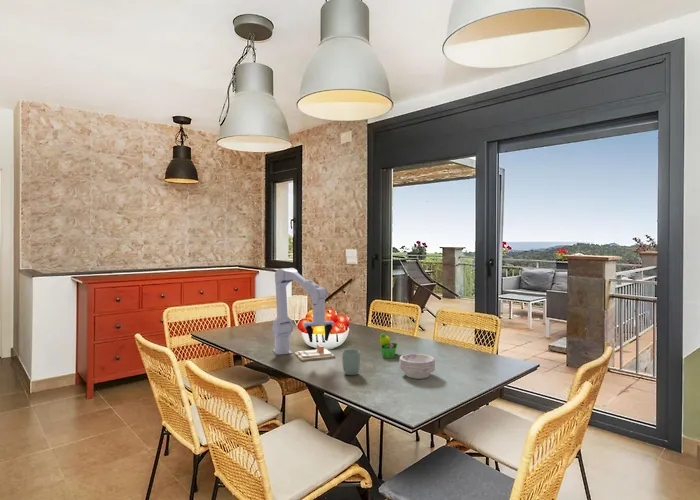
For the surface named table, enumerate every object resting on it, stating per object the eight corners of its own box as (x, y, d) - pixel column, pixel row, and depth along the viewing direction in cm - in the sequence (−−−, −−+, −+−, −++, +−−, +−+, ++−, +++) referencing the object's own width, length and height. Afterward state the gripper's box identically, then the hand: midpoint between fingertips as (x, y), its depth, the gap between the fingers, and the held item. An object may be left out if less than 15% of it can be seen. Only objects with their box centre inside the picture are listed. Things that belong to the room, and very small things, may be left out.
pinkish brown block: (315, 350, 217) (315, 343, 217) (325, 349, 219) (325, 342, 219) (321, 355, 207) (321, 348, 207) (331, 354, 210) (331, 347, 210)
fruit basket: (395, 359, 207) (395, 336, 207) (377, 357, 209) (378, 335, 209) (397, 353, 218) (397, 331, 218) (380, 351, 220) (380, 330, 220)
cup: (344, 377, 179) (345, 354, 178) (340, 372, 186) (340, 349, 186) (362, 376, 181) (362, 353, 180) (357, 370, 188) (357, 348, 188)
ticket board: (294, 354, 215) (294, 350, 215) (325, 350, 221) (325, 347, 221) (301, 361, 202) (301, 357, 202) (334, 357, 208) (334, 354, 208)
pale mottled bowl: (410, 368, 193) (411, 351, 193) (440, 375, 183) (441, 357, 183) (392, 376, 181) (392, 358, 181) (423, 384, 171) (423, 364, 171)
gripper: (306, 315, 193) (306, 344, 193) (336, 313, 198) (335, 341, 198) (302, 312, 199) (302, 340, 199) (331, 310, 205) (330, 338, 205)
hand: (318, 341), depth 199 cm, fingers open, 7 cm apart
